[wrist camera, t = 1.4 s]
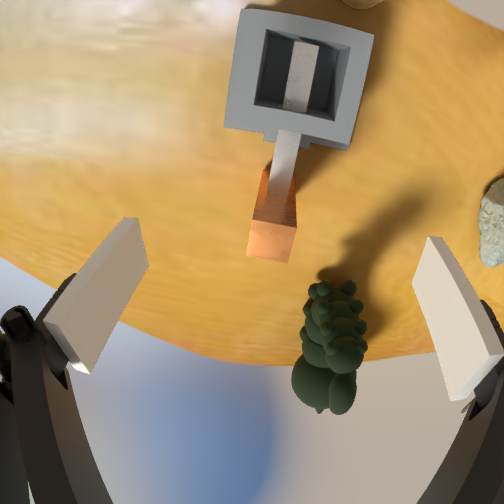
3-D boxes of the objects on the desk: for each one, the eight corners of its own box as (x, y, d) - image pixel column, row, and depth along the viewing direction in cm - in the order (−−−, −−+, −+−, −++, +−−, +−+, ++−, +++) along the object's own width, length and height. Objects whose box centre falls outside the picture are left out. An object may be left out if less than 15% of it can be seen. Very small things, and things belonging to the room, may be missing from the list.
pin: (258, 197, 32) (246, 255, 23) (285, 44, 22) (284, 32, 14) (288, 202, 32) (287, 262, 23) (320, 51, 22) (339, 44, 14)
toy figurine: (293, 251, 38) (291, 373, 50) (291, 377, 21) (285, 471, 34) (367, 251, 36) (344, 373, 49) (408, 371, 20) (351, 469, 33)
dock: (225, 125, 28) (208, 143, 22) (242, 10, 21) (228, -6, 15) (345, 148, 28) (360, 173, 22) (371, 36, 21) (395, 30, 15)
